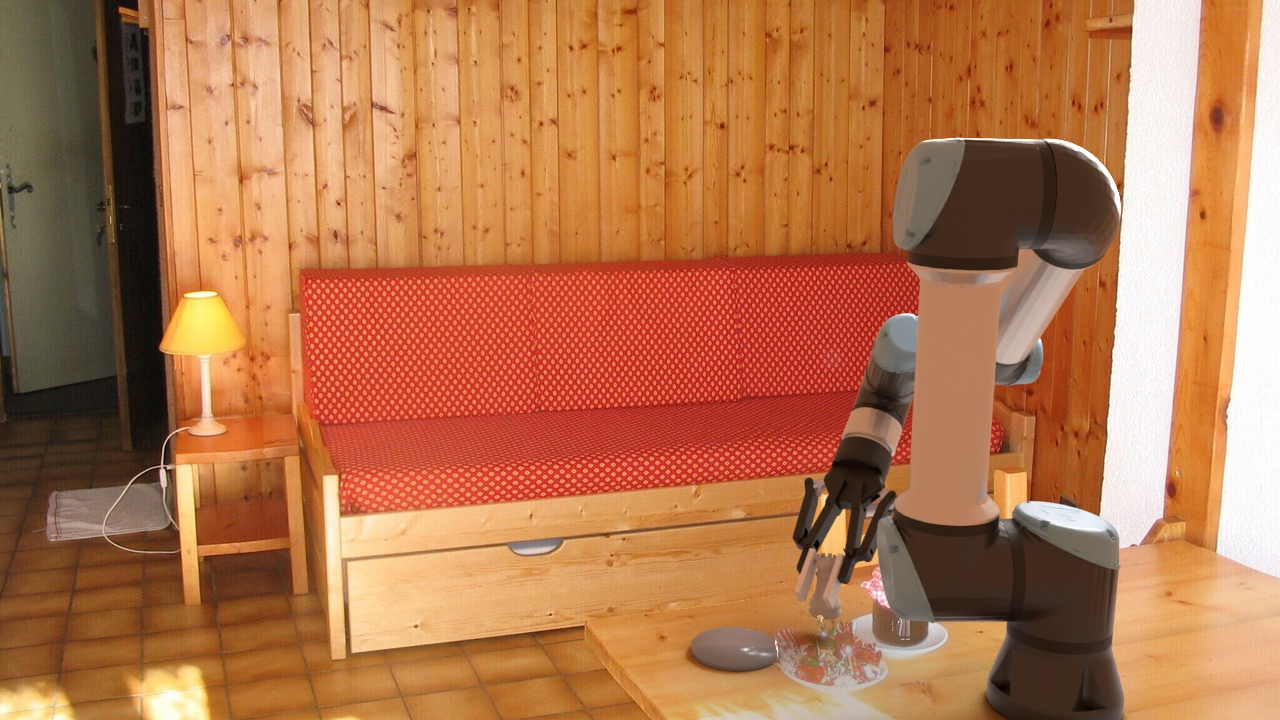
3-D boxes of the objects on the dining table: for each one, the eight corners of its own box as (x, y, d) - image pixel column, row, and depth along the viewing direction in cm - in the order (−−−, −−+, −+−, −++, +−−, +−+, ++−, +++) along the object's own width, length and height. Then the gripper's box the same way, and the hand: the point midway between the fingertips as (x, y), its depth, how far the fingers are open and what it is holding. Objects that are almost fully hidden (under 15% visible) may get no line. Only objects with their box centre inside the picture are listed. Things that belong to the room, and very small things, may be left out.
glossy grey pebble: (792, 647, 163) (793, 638, 163) (754, 678, 154) (754, 669, 154) (717, 629, 169) (717, 620, 169) (675, 658, 160) (675, 649, 160)
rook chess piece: (819, 605, 171) (821, 548, 169) (848, 613, 168) (850, 555, 167) (801, 614, 167) (803, 556, 166) (830, 623, 165) (832, 564, 163)
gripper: (929, 471, 173) (880, 626, 162) (819, 455, 182) (765, 601, 171) (918, 441, 168) (866, 599, 157) (804, 426, 176) (747, 574, 165)
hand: (813, 599), depth 164 cm, fingers closed on rook chess piece, 3 cm apart
